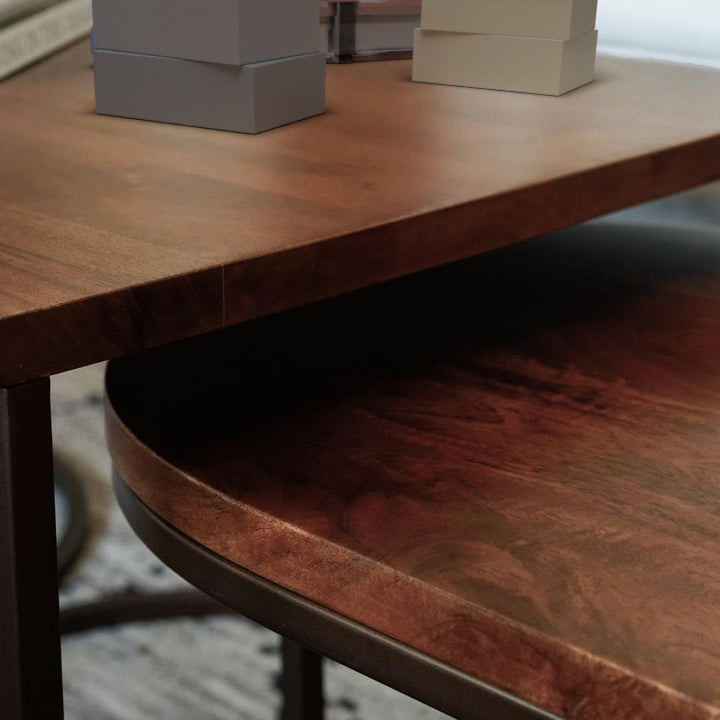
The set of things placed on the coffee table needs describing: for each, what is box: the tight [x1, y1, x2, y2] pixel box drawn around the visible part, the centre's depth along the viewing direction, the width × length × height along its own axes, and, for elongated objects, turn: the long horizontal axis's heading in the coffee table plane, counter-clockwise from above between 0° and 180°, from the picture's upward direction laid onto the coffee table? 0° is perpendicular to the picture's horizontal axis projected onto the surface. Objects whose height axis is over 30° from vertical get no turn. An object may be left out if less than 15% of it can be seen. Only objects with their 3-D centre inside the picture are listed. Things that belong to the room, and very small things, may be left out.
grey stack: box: [91, 0, 327, 135], centre depth 75 cm, size 12×10×8 cm
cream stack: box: [411, 0, 599, 97], centre depth 91 cm, size 12×10×8 cm
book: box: [319, 0, 422, 64], centre depth 106 cm, size 26×18×5 cm
